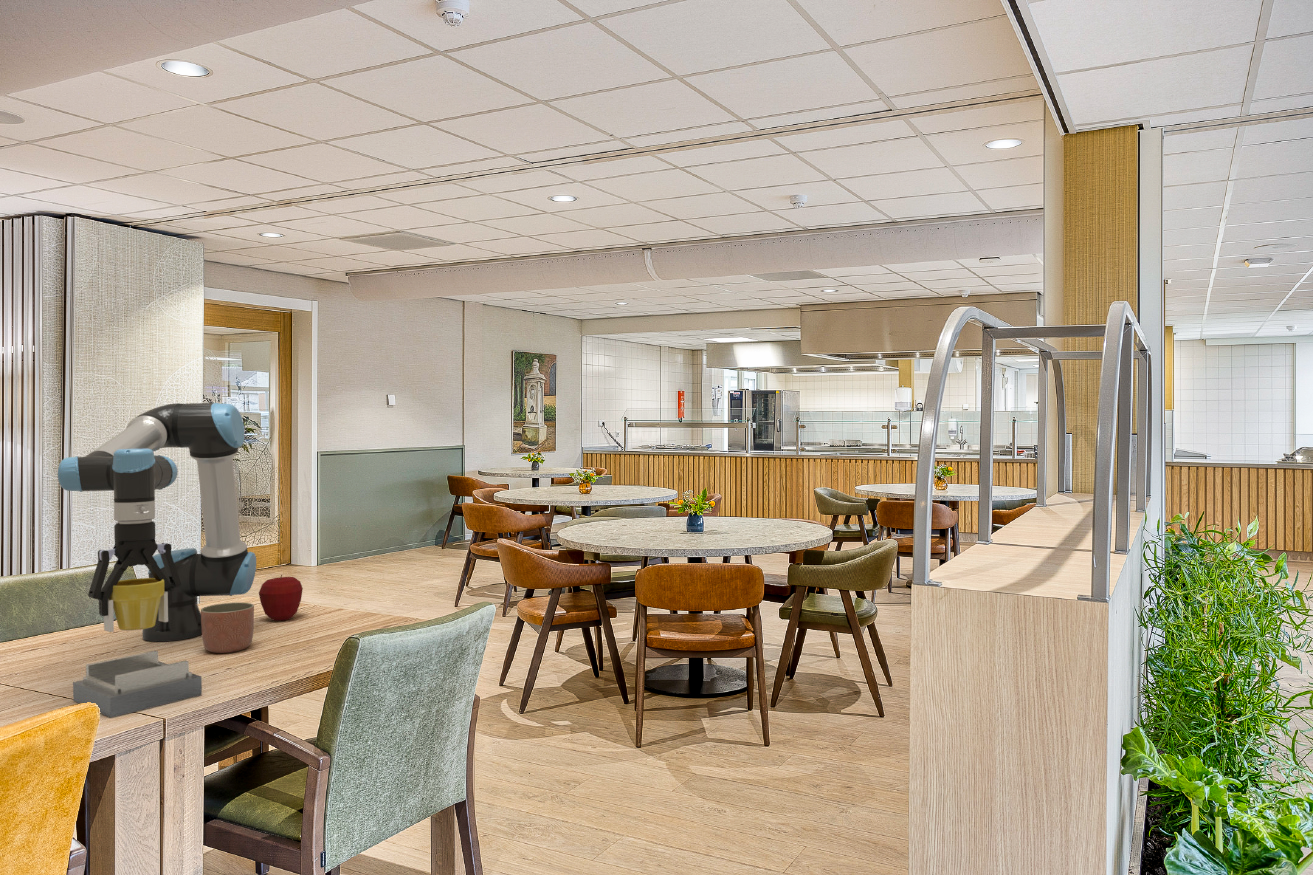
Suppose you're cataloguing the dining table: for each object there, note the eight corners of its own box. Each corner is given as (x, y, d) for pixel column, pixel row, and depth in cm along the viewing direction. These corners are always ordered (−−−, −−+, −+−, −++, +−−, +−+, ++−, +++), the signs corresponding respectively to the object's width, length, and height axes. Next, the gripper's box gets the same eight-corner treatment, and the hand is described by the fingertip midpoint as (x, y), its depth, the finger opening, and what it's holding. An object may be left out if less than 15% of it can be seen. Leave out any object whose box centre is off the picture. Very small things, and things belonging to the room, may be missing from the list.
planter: (265, 646, 233) (264, 604, 233) (224, 657, 222) (223, 614, 221) (231, 641, 238) (231, 600, 238) (190, 652, 227) (189, 609, 227)
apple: (294, 613, 272) (294, 569, 272) (309, 619, 264) (308, 574, 264) (253, 619, 264) (252, 574, 264) (267, 625, 256) (266, 579, 255)
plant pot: (123, 622, 194) (123, 577, 194) (173, 621, 195) (172, 576, 195) (98, 633, 184) (97, 586, 184) (150, 632, 185) (150, 585, 185)
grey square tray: (70, 699, 189) (70, 664, 189) (159, 679, 203) (159, 646, 203) (110, 717, 177) (109, 680, 177) (201, 694, 192) (201, 660, 192)
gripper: (82, 528, 178) (84, 638, 178) (197, 517, 196) (199, 618, 196) (67, 525, 182) (69, 633, 183) (181, 515, 200) (183, 614, 201)
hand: (136, 625), depth 190 cm, fingers closed on plant pot, 10 cm apart
